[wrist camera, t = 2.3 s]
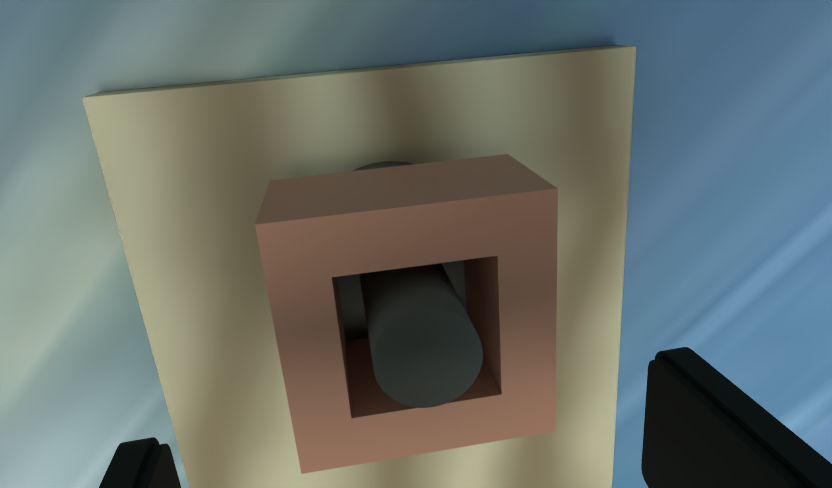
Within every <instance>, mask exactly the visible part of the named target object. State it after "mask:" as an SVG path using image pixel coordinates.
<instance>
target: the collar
mask: <svg viewBox="0 0 832 488" xmlns="http://www.w3.org/2000/svg"><path fill="white" fill-rule="evenodd" d="M255 228H256V234H257V239H258V244H259V250H260V255H261V260H262V266H263V271H264V277H265V282H266V287H267V293H268V298H269V303H270V309H271V314H272V319H273V325H274V330H275V335H276V341H277V346H278V351H279V357H280V362H281V367H282V373H283V378H284V384H285V389H286V394H287V400H288V405H289V410H290V416H291V421H292V426H293V432H294V437H295V442H296V448H297V453H298V458H299V464H300V469H301V474H305V473H311V472H317V471H323V470H329V469H335V468H341V467H347V466H353V465H358V464H364V463H370V462H376V461H382V460H388V459H394V458H400V457H406V456H412V455H418V454H424V453H430V452H436V451H442V450H448V449H454V448H460V447H466V446H471V445H477V444H483V443H489V442H495V441H501V440H507V439H513V438H519V437H525V436H531V435H537V434H543V433H549V432H555V416H556V323H557V230H558V188H557V187H555V186H554V185H552V184H551V183H549V182H548V181H546V180H545V179H543V178H542V177H541V176H539V175H538V174H536V173H535V172H533V171H532V170H530V169H529V168H527V167H526V166H525V165H523V164H522V163H520V162H519V161H517V160H516V159H514V158H513V157H511V156H510V155H508V154H503V155H494V156H485V157H476V158H467V159H458V160H449V161H440V162H431V163H422V164H413V165H404V166H395V167H386V168H377V169H368V170H359V171H350V172H341V173H332V174H323V175H314V176H305V177H296V178H287V179H278V180H270V181H269V184H268V187H267V190H266V193H265V196H264V199H263V202H262V205H261V208H260V211H259V214H258V217H257V220H256V223H255ZM460 260H464V275H465V295H466V312H467V314H468V316H469V318H470V320H471V322H472V324H473V326H474V328H475V330H476V332H477V334H478V336H479V338H480V340H481V344H482V348H483V361H482V366H481V369H480V372H479V374H478V376H477V378H476V380H475V381H474V383H473V384H472V385H471V386H470V388H469V389H468V390H467V391H465V392H464V393H463V394H462V395H461V396H459V397H458V398H456V399H454V400H453V401H450V402H448V403H446V404H443V405H440V406H436V407H429V408H416V407H410V406H406V405H403V404H401V403H398V402H396V401H395V400H393V399H392V398H390V397H389V396H388V395H387V394H386V393H385V392H384V391H383V390H382V389H381V387H380V386H379V384H378V382H377V380H376V377H375V374H374V368H373V362H372V355H371V349H370V342H369V338H363V339H356V340H349V341H345V333H344V326H343V319H342V312H341V304H340V297H339V290H338V283H337V277H338V276H346V275H353V274H361V273H369V272H376V271H384V270H392V269H399V268H407V267H414V266H422V265H430V264H437V263H445V262H453V261H460Z"/></svg>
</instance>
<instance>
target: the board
mask: <svg viewBox="0 0 832 488" xmlns="http://www.w3.org/2000/svg"><path fill="white" fill-rule="evenodd" d="M635 62H636V46H621V45H612V46H601V47H590V48H579V49H568V50H557V51H547V52H536V53H525V54H514V55H503V56H492V57H481V58H470V59H459V60H448V61H437V62H426V63H415V64H404V65H394V66H383V67H372V68H361V69H350V70H339V71H328V72H317V73H306V74H295V75H284V76H273V77H262V78H252V79H241V80H230V81H219V82H208V83H197V84H186V85H175V86H164V87H153V88H142V89H131V90H120V91H109V92H99V93H96V94H92V95H89V96H86V97H82V99H83V103H84V107H85V110H86V114H87V117H88V121H89V125H90V128H91V132H92V135H93V139H94V143H95V146H96V150H97V154H98V157H99V161H100V164H101V168H102V172H103V175H104V179H105V182H106V186H107V190H108V193H109V197H110V201H111V204H112V208H113V211H114V215H115V219H116V222H117V226H118V229H119V233H120V237H121V240H122V244H123V248H124V251H125V255H126V258H127V262H128V266H129V269H130V273H131V276H132V280H133V284H134V287H135V291H136V295H137V298H138V302H139V305H140V309H141V313H142V316H143V320H144V323H145V327H146V331H147V334H148V338H149V341H150V345H151V349H152V352H153V356H154V360H155V363H156V367H157V370H158V374H159V378H160V381H161V385H162V388H163V392H164V396H165V399H166V403H167V407H168V410H169V414H170V417H171V421H172V425H173V428H174V432H175V435H176V439H177V443H178V446H179V450H180V454H181V457H182V461H183V464H184V468H185V472H186V475H187V479H188V482H189V486H190V488H612V475H613V457H614V439H615V421H616V403H617V385H618V367H619V349H620V331H621V313H622V295H623V277H624V259H625V241H626V223H627V205H628V187H629V169H630V151H631V134H632V116H633V98H634V80H635ZM503 154H508V155H510V156H511V157H513V158H514V159H516V160H517V161H519V162H520V163H522V164H523V165H525V166H526V167H527V168H529V169H530V170H532V171H533V172H535V173H536V174H538V175H539V176H541V177H542V178H543V179H545V180H546V181H548V182H549V183H551V184H552V185H554V186H555V187H557V188H558V230H557V323H556V416H555V432H549V433H543V434H537V435H531V436H525V437H519V438H513V439H507V440H501V441H495V442H489V443H483V444H477V445H471V446H466V447H460V448H454V449H448V450H442V451H436V452H430V453H424V454H418V455H412V456H406V457H400V458H394V459H388V460H382V461H376V462H370V463H364V464H358V465H353V466H347V467H341V468H335V469H329V470H323V471H317V472H311V473H305V474H301V469H300V464H299V458H298V453H297V448H296V442H295V437H294V432H293V426H292V421H291V416H290V410H289V405H288V400H287V394H286V389H285V384H284V378H283V373H282V367H281V362H280V357H279V351H278V346H277V341H276V335H275V330H274V325H273V319H272V314H271V309H270V303H269V298H268V293H267V287H266V282H265V277H264V271H263V266H262V260H261V255H260V250H259V244H258V239H257V234H256V228H255V223H256V220H257V217H258V214H259V211H260V208H261V205H262V202H263V199H264V196H265V193H266V190H267V187H268V184H269V181H270V180H278V179H287V178H296V177H305V176H314V175H323V174H332V173H341V172H350V171H359V170H368V169H377V168H386V167H395V166H404V165H413V164H422V163H431V162H440V161H449V160H458V159H467V158H476V157H485V156H494V155H503ZM337 283H338V290H339V297H340V304H341V312H342V319H343V326H344V333H345V341H349V340H356V339H363V338H369V342H370V349H371V355H372V362H373V368H374V374H375V377H376V380H377V382H378V384H379V386H380V387H381V389H382V390H383V391H384V392H385V393H386V394H387V395H388V396H389V397H390V398H392V399H393V400H395V401H396V402H398V403H401V404H403V405H406V406H410V407H416V408H429V407H436V406H440V405H443V404H446V403H448V402H450V401H453V400H454V399H456V398H458V397H459V396H461V395H462V394H463V393H464V392H465V391H467V390H468V389H469V388H470V386H471V385H472V384H473V383H474V381H475V380H476V378H477V376H478V374H479V372H480V369H481V366H482V361H483V348H482V344H481V340H480V338H479V336H478V334H477V332H476V330H475V328H474V326H473V324H472V322H471V320H470V318H469V316H468V314H467V312H466V295H465V275H464V260H460V261H453V262H445V263H437V264H430V265H422V266H414V267H407V268H399V269H392V270H384V271H376V272H369V273H361V274H353V275H346V276H338V277H337Z"/></svg>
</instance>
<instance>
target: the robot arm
mask: <svg viewBox="0 0 832 488" xmlns="http://www.w3.org/2000/svg"><path fill="white" fill-rule="evenodd" d="M642 474H643V477H644V480H645V482H646V484H647V485H648V487H649V488H832V464H831V463H830V462H829V461H827V460H826V459H825V458H824V457H823V456H821V455H820V454H819V453H818V452H816V451H815V450H814V449H813V448H812V447H810V446H809V445H808V444H807V443H805V442H804V441H803V440H802V439H801V438H799V437H798V436H797V435H796V434H794V433H793V432H792V431H791V430H789V429H788V428H787V427H786V426H785V425H783V424H782V423H781V422H780V421H778V420H777V419H776V418H775V417H774V416H772V415H771V414H770V413H769V412H767V411H766V410H765V409H764V408H763V407H761V406H760V405H759V404H758V403H756V402H755V401H754V400H753V399H752V398H750V397H749V396H748V395H747V394H745V393H744V392H743V391H742V390H741V389H739V388H738V387H737V386H736V385H734V384H733V383H732V382H731V381H729V380H728V379H727V378H726V377H725V376H723V375H722V374H721V373H720V372H718V371H717V370H716V369H715V368H714V367H712V366H711V365H710V364H709V363H707V362H706V361H705V360H704V359H703V358H701V357H700V356H699V355H698V354H696V353H695V352H694V351H693V350H691V349H690V348H688V347H682V348H677V349H671V350H665V351H660V352H658V353H657V354H656V356H655V360H652V361H650V363H649V366H648V377H647V392H646V407H645V421H644V436H643V451H642ZM99 488H181V485H180V482H179V478H178V475H177V471H176V467H175V464H174V460H173V456H172V453H171V449H170V447H169V445H168V444H161V445H159V442H158V440H157V439H156V438H154V437H153V438H147V439H141V440H135V441H129V442H123V443H121V444H120V445H119V446H118V448H117V450H116V452H115V454H114V456H113V458H112V460H111V463H110V465H109V467H108V469H107V471H106V473H105V475H104V478H103V480H102V482H101V484H100V486H99Z"/></svg>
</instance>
